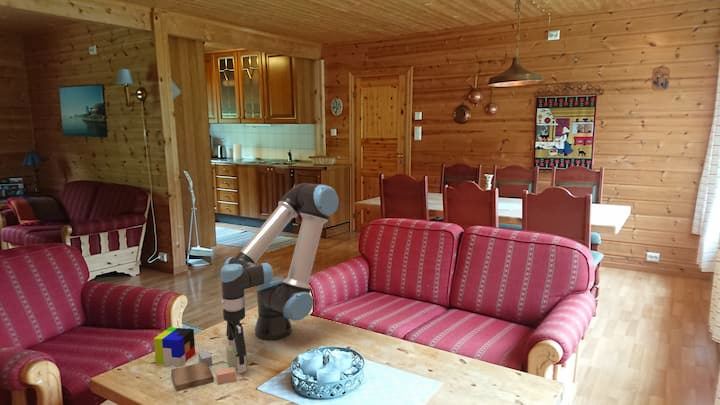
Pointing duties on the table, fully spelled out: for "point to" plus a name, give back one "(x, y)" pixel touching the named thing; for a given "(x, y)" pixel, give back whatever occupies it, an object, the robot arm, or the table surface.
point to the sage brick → (233, 356)
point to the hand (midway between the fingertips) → (237, 364)
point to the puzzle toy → (174, 346)
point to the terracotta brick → (226, 375)
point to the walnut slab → (192, 376)
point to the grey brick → (205, 357)
